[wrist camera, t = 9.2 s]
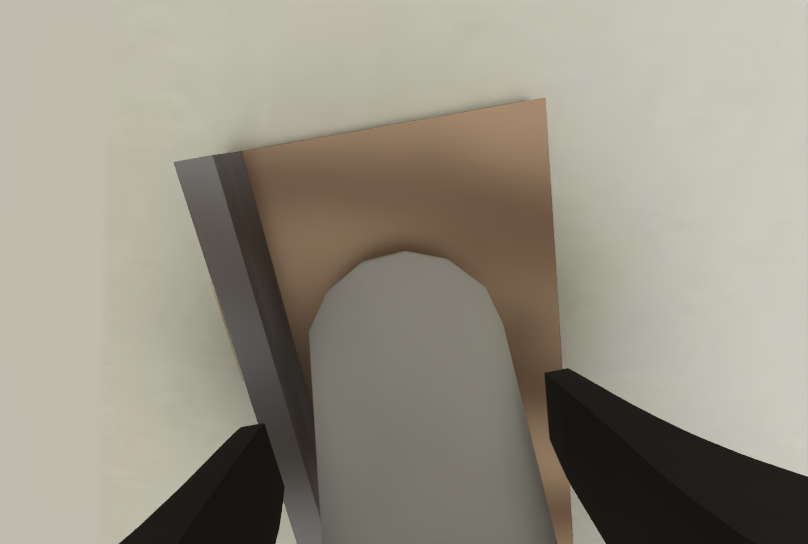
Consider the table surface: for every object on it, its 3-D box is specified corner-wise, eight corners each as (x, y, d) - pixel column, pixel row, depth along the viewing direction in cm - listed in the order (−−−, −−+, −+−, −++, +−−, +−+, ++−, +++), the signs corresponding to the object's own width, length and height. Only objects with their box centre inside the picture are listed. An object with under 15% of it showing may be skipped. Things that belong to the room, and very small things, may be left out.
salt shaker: (438, 407, 17) (619, 1206, 4) (296, 354, 16) (-16, 1208, 3) (512, 274, 15) (1121, 901, 3) (360, 206, 14) (246, 722, 2)
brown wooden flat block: (561, 538, 21) (601, 628, 17) (342, 578, 21) (335, 677, 17) (529, 100, 15) (581, 89, 11) (219, 155, 15) (165, 163, 11)
